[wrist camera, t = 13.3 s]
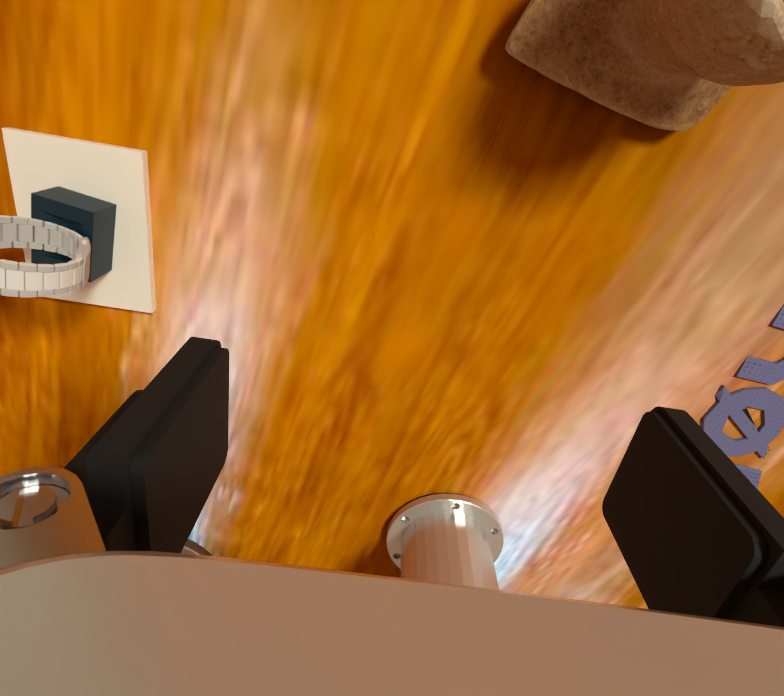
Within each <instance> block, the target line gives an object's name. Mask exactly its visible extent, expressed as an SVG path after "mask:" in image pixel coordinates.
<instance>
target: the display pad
mask: <svg viewBox="0 0 784 696" xmlns="http://www.w3.org/2000/svg"><path fill="white" fill-rule="evenodd" d="M2 133H3V138H4V144H5V150H6V155H7V161H8V166H9V172H10V178H11V183H12V189H13V194H14V200H15V206H16V211H17V216H19V217H26V218H31V193H34V192H37V191H41V190H45V189H49V188H53V187H57V186H59V187H63V188H66V189H69V190H72V191H75V192H78V193H82V194H85V195H88V196H91V197H94V198H98V199H101V200H104V201H107V202H110V203H113V204H117V205H116V219H115V232H114V246H113V260H112V270H111V271H109V272H108V273H106V274H104V275H102V276H101V277H99V278H97V279H96V280H94V281H92V282H91V283H90V282H87V283H86V285H85V286H84V287H80V288H77V289H76V290H74V291H72V292H68V293H64V294H60V295H53V296H46V297H48V298H55V299H61V300H68V301H74V302H81V303H88V304H94V305H101V306H107V307H114V308H121V309H127V310H134V311H140V312H147V313H153V312H154V311H155V310H156V297H155V280H154V262H153V245H152V228H151V211H150V193H149V176H148V159H147V151H145V150H139V149H133V148H127V147H121V146H116V145H110V144H104V143H98V142H92V141H86V140H80V139H74V138H68V137H63V136H57V135H51V134H45V133H39V132H33V131H27V130H21V129H15V128H10V127H9V128H2ZM23 251H24V256H25V262H26V263H31V249H30V248H29V242H28V248H23Z"/></svg>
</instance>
